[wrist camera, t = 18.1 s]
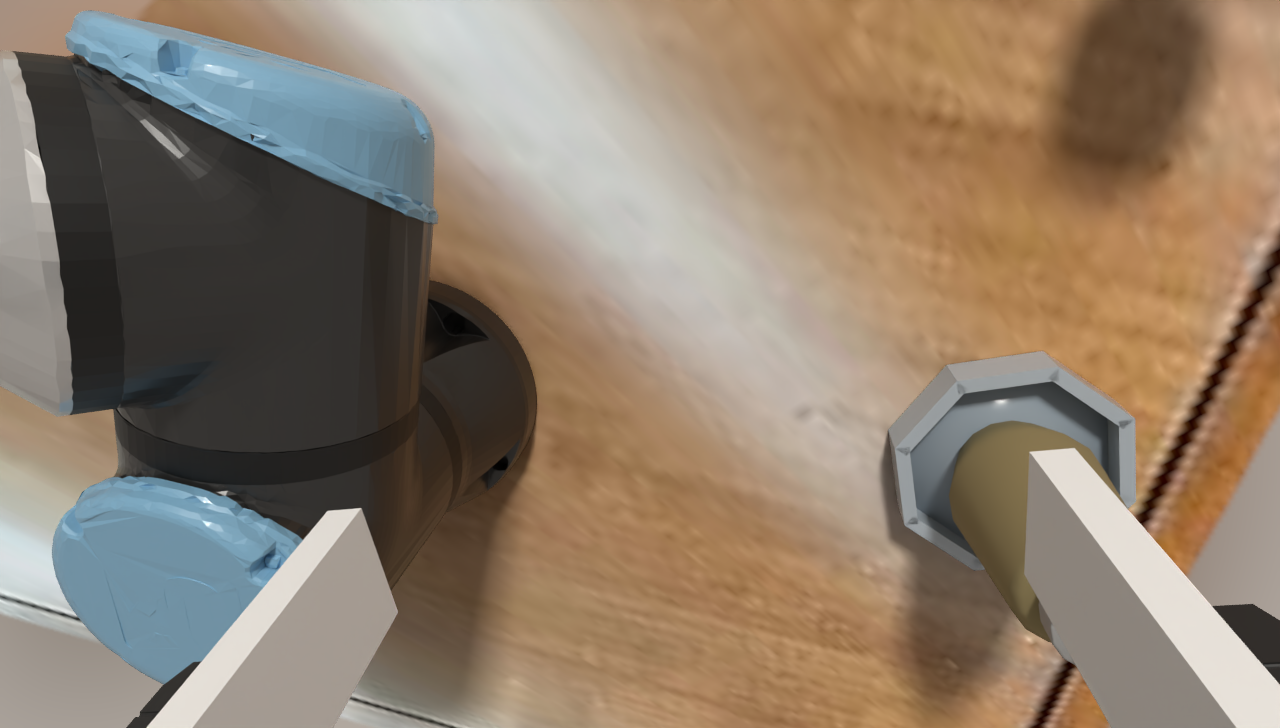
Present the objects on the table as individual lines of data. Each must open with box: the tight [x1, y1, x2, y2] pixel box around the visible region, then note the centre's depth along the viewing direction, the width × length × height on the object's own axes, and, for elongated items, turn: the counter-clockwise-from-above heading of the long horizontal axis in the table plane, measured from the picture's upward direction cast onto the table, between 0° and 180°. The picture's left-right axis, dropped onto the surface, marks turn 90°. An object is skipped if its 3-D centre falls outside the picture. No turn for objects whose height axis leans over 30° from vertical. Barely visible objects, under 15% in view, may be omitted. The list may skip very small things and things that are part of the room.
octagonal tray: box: [888, 351, 1136, 571], centre depth 44 cm, size 13×13×2 cm
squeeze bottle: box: [949, 420, 1128, 665], centre depth 36 cm, size 8×8×18 cm
